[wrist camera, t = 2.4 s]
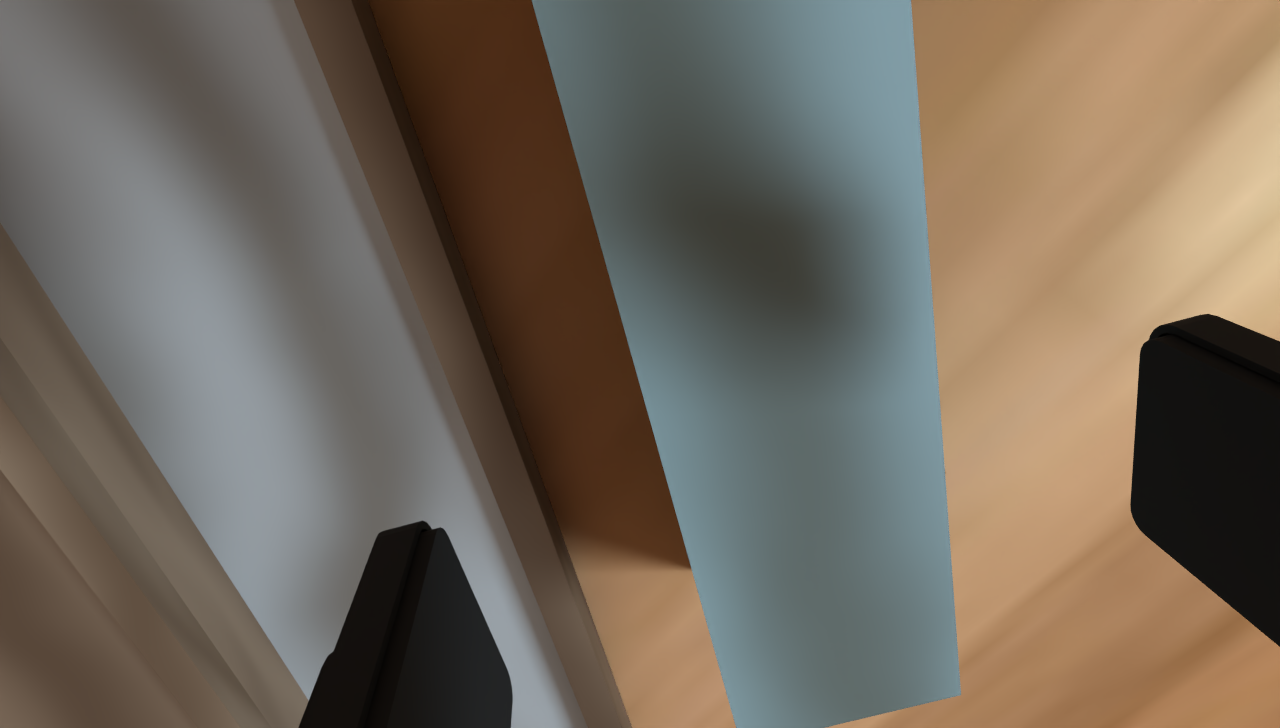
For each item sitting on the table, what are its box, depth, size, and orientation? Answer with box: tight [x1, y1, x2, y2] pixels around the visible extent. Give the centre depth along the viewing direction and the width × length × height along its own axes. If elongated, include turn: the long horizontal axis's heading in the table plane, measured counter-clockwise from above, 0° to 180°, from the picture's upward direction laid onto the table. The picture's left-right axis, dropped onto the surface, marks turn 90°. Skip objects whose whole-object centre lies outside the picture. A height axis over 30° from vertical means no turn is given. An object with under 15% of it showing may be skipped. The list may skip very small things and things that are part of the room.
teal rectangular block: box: [532, 0, 961, 728], centre depth 15 cm, size 5×18×6 cm, turn 14°
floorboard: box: [0, 0, 632, 728], centre depth 19 cm, size 16×38×3 cm, turn 14°
